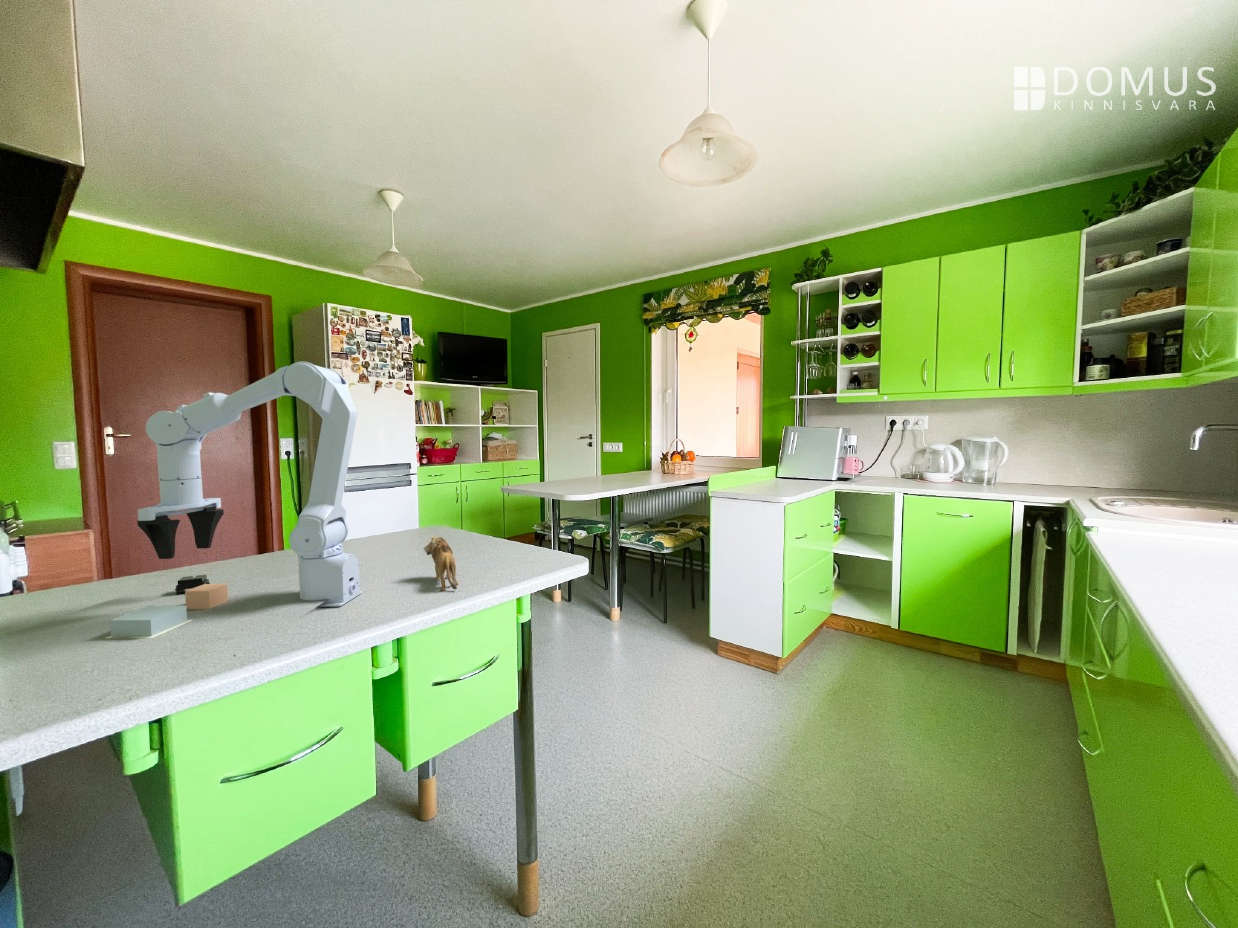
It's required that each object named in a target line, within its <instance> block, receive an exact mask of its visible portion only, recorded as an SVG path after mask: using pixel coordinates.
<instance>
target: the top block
mask: <svg viewBox="0 0 1238 928" xmlns="http://www.w3.org/2000/svg"><path fill="white" fill-rule="evenodd" d="M184 596H185V597H184V598H185V606H186V609H187V610H210V609H213V608H215V607H217V606H219V605H221V604H222V605H223V603H227V602H228V601H229V596H228V583H210V584H204V585H201V586H198V587H195V588H193V589H186V590H184Z"/></svg>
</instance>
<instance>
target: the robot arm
mask: <svg viewBox="0 0 1238 928" xmlns="http://www.w3.org/2000/svg"><path fill="white" fill-rule="evenodd" d="M349 385H350V384H349V382H348V380H346V379H345V378H344V377H343V376H342V375H341V374H340V372H338V371H337V370H334V369H332V368H328V367H323V366H319V365H315V364H313V363H312V362H308V361H297V362H294V363H292V364H290V365H289V366H288V365H286V366H282V367H280V368H278V369H277V370H275V371H274V372H273V373H270V374H269V375H267V376H264V377H263V378H261V379H258V380H256V381H255V382H253V383H251V384H249V385H246V386H244V387H242V388H241V389H239V390H237V391H235V392H233V393H230V394H229V395H228V394H225V393H222V392H206V393H204V394H202V397H203V398H201V399H198V400H196V401H194V402H192V403H190V404H188V405H187V404H180V405H179V406H177V409H176V410H175V411H174V412H173V411H169V410H159V411H156V413H154V414H152V415H151V416H150V417H149V418H147V421H146V423H145V431H146V434H147V436H148V437H149V439H150V440H151V441H153V442H154V443H155V444H156V455H157V456H156V457H157V469H158V470H157V471H158V483H159V484H158V485H159V496H160V503H157V504H156V505H154V506H153V505H152V506H149V507H144V508H140V509H139V508H138V509H137V521H136V522H137V527H139V528H140V530H141V531H143V533H144V534H145V535H146V537H147V538H148V539H149V541H150V542H151V544H152V546H153V548H154V551H155V553H156V555H157V557H158V559H159V560H171V559H174V558H175V555H176V537H177V536H176V535H177V530H178V527H179V524H180V522H181V520H180V519H171V518H170V517H174V516H178V515H183V514H184V515H185V514H186V516H187V518H188V519H189V522H190V524H191V527H192V530H193V535H194V542H195V547H196V549H197V550H199V549H210V548H211V547H212V543H213V539H214V535H215V532H216V529H217V527H218V524H219V522H220V520H221V519H222V518H223V515H224V514H225V513H224V511H225V510H224V509H223V508H222V499H221V497H208V498H204V493H203V478H202V464H201V450H202V443H203V441H204V440H205V439H206V437H207V435H209V434H211V433H213V432H215V431H218V430H220V429H222V428H224V427H227V426H229V425H231V424H234V423H236V422H237V421H239V420H240V419H241V416H242V412H243V411H246V410H247V411H248V410H250V409H251V408H254V407H257V406H260V405H263V404H265V403H267V402H269V401H273V400H275V399H278V398H281V397H283V396H291V397H292V396H293V397H296V398H298V399H300V401H301V400H302V401H303V402H305V403H306V404H308V405H310V407H311V408H312V409H313V410H314V411H315V412H316V413H317V414H318V415H319V416H320V417H321V419H322V421H321V426H320V432H319V439H318V443H317V450H316V455H315V463H314V466H313V473H312V479H311V485H310V489H309V496H308V501H307V503H306V505H305V506H304V508H303V509H302V511H301V513H300V514H298V519H297V523H296V525H295V527H294V528H293V529H292V530H291V532H290V534H289V545H290V548H291V549H292V551H293V552H294V553H295V554H296V555H297V560H298V562H297V563H298V580H299V581H298V584H299V586H298V587H299V598H300V599H301V600H303V601H320V600H321V601H322V600H325V601H324V602H322V603H320V604H318V605H317V606H316V607H322V608H323V607H328V608H329V607H341V606H344V605H345V604H346V603H348V602H349V601H351V600H353V599H354V598H356V597H357V596H359V595H361V594H363V590H362V589H361V582H360V581H361V580H360V579H361V578H360V576H361V575H360V561H359V558H358V557H357V555H355V554H354V553H346V552H344V547H343V542H344V541H346V539H347V538H348V535H349V528H348V527H349V526H348V524H347V520H346V517H347V510H346V509H345V507H344V506H343V505H342V503H343V497H344V491H345V485H346V479H347V475H348V469H349V463H350V462H349V461H350V458H351V453H352V452H351V451H352V445H353V440H354V434H355V428H356V424H357V423H356V422H357V418H358V417H357V416H358V415H357V414H358V413H357V408H356V407H355V404H354V403H355V402H354V401H353V399H352V396H351V393H350V389H349V387H350V386H349ZM220 508H221V509H220Z"/></svg>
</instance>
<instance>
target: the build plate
mask: <svg viewBox="0 0 1238 928" xmlns="http://www.w3.org/2000/svg"><path fill="white" fill-rule="evenodd" d="M207 576H208V575H207V574H199V575H198V574H197V575H195V576H194V575H190V576H189V575H188V576H182V577H181V578H179V579H178V580H177V585H176V586H175V588H174V591H175V593H176V596H179V595H180V594H181V593H182V592H183V591H184V592H185V591H186V590H190V589H193V588H195V587H198V586H201V585H204V584H211V583H210V580H209V578H207ZM184 592H183V593H184Z"/></svg>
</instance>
